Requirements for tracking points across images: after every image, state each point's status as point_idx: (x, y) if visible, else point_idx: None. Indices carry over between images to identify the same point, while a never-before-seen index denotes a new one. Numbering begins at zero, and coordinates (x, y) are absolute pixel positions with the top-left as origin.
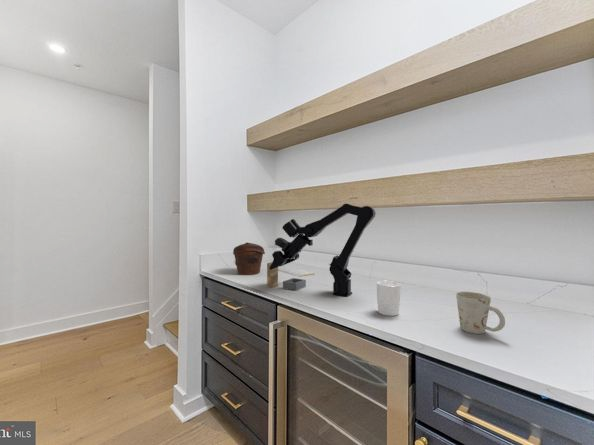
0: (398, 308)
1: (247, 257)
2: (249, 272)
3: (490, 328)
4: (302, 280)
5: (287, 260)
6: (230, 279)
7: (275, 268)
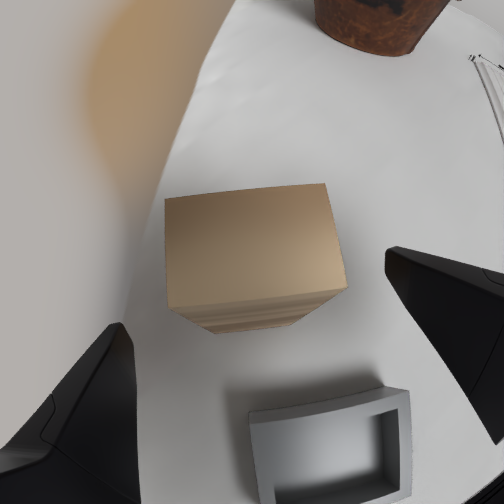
0: None
1: None
2: (345, 35)
3: None
4: (378, 501)
5: (481, 371)
6: (217, 41)
7: (263, 310)
